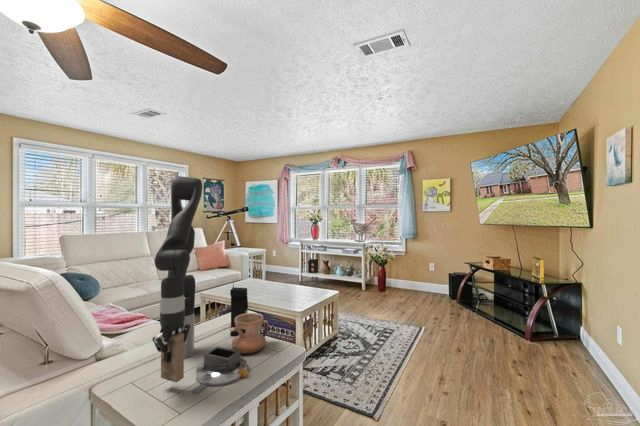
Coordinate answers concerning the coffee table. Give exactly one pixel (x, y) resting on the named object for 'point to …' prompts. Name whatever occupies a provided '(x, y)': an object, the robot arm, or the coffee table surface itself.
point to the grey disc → (221, 367)
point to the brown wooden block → (174, 360)
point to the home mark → (199, 388)
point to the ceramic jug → (249, 333)
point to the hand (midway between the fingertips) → (172, 359)
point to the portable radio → (238, 305)
